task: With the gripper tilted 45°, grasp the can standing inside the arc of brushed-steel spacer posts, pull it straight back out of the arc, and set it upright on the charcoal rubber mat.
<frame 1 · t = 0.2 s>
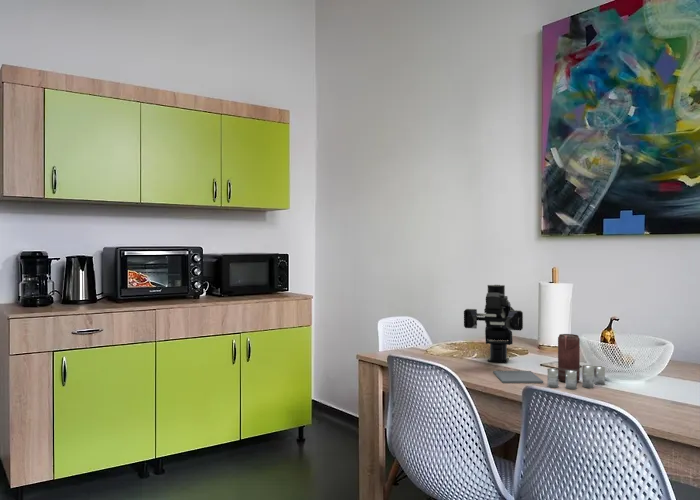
hand: (490, 323, 181), 17 cm above the table, tool horizontal, fingers open, 9 cm apart
mat: (517, 377, 179), on the table
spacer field: (582, 374, 170), on the table
can: (568, 381, 174), on the table
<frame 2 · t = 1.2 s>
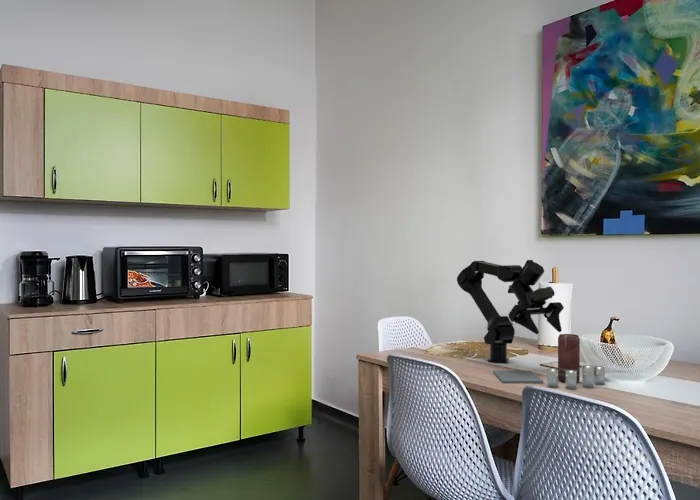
hand: (549, 332, 182), 14 cm above the table, tool tilted 45°, fingers open, 9 cm apart
nothing on the table moved.
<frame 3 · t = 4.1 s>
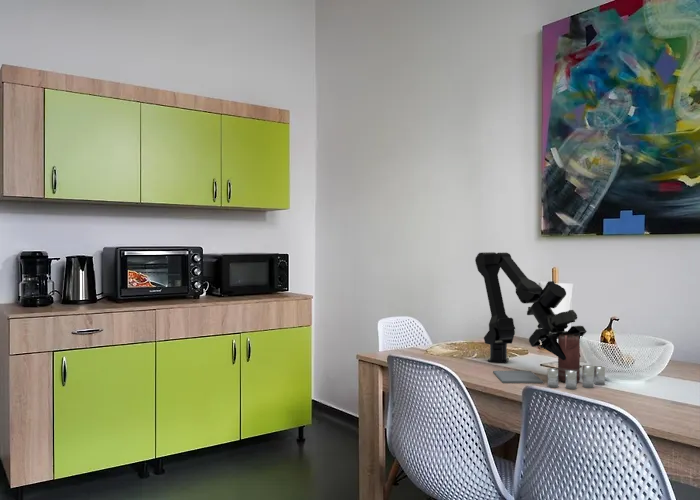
hand: (572, 358, 173), 7 cm above the table, tool tilted 45°, fingers closed on can, 5 cm apart
can: (568, 381, 174), on the table, touching gripper
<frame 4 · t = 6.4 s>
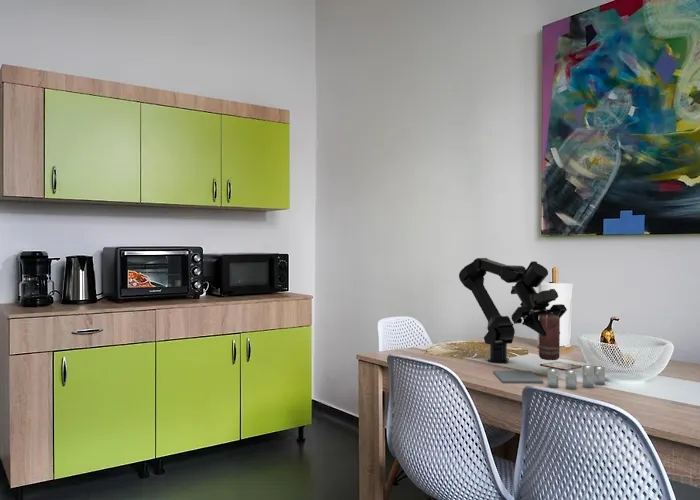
hand: (552, 335, 181), 13 cm above the table, tool tilted 45°, fingers closed on can, 5 cm apart
can: (549, 358, 182), point 5 cm above the table, touching gripper
when the fingers open (9 cm above the table, at t = 9.1 s): can stays where it is, resting on mat.
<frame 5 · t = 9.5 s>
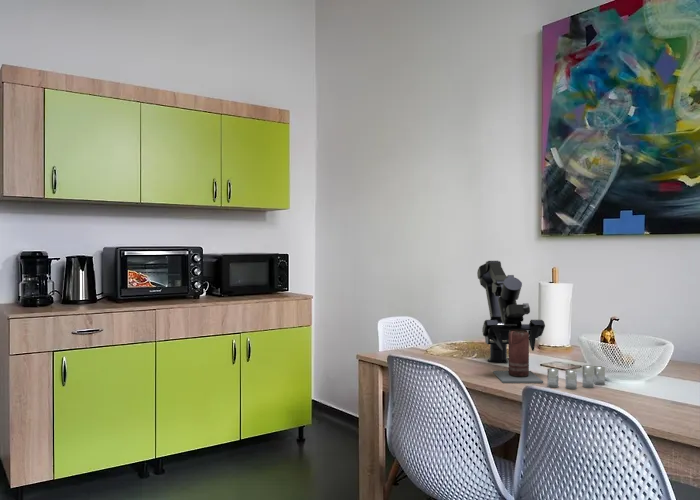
hand: (518, 350, 178), 9 cm above the table, tool tilted 45°, fingers open, 9 cm apart
can: (518, 376, 180), resting on mat
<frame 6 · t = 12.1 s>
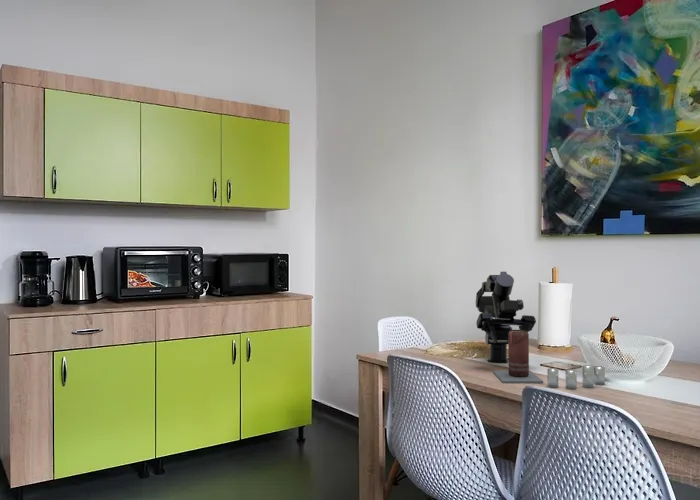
hand: (510, 343, 188), 9 cm above the table, tool tilted 45°, fingers open, 9 cm apart
nothing on the table moved.
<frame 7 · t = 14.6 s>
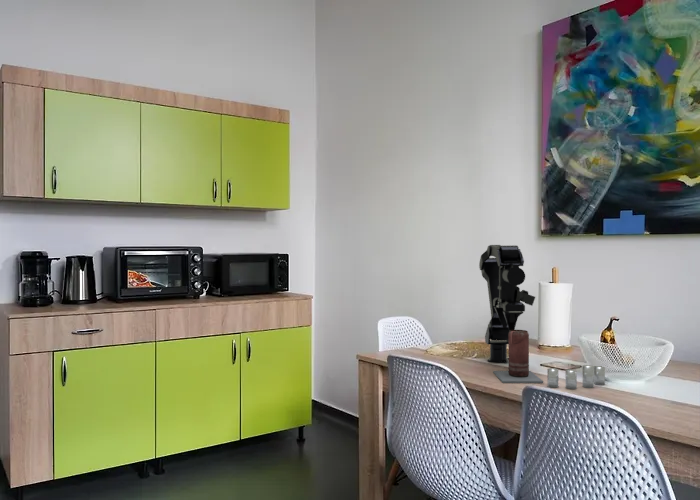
hand: (508, 330, 191), 13 cm above the table, tool pointing down, fingers open, 9 cm apart
nothing on the table moved.
at the end: can inside the target area on the mat (0.7 cm from its centre), point 0.4 cm above the mat's base; can tilted 0°; the gripper is holding nothing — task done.
